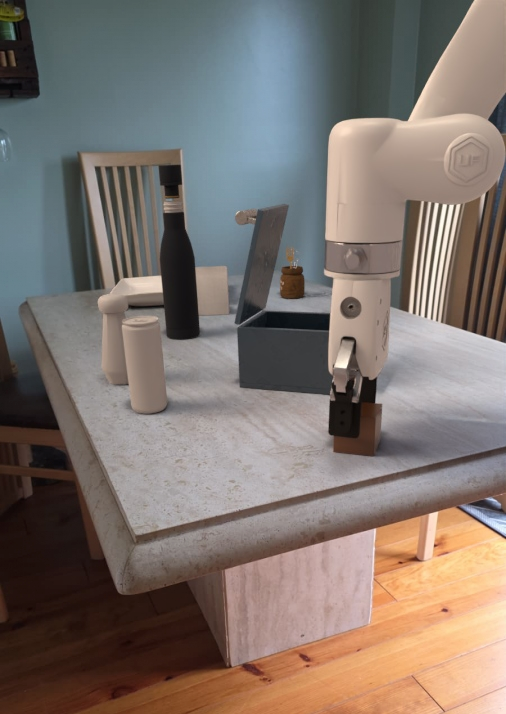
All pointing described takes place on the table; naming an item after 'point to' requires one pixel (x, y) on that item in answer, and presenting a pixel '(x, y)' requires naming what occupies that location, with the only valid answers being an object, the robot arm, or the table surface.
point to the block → (363, 433)
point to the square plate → (141, 290)
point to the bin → (285, 352)
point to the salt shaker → (113, 337)
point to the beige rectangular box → (212, 290)
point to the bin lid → (260, 257)
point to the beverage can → (145, 363)
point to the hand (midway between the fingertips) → (353, 419)
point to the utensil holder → (292, 279)
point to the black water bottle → (177, 263)
